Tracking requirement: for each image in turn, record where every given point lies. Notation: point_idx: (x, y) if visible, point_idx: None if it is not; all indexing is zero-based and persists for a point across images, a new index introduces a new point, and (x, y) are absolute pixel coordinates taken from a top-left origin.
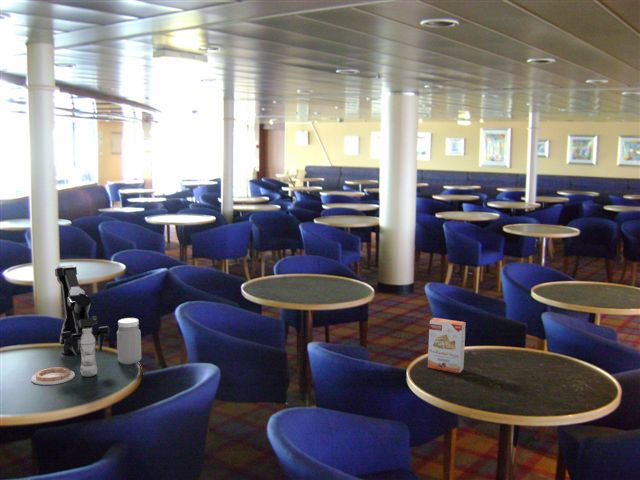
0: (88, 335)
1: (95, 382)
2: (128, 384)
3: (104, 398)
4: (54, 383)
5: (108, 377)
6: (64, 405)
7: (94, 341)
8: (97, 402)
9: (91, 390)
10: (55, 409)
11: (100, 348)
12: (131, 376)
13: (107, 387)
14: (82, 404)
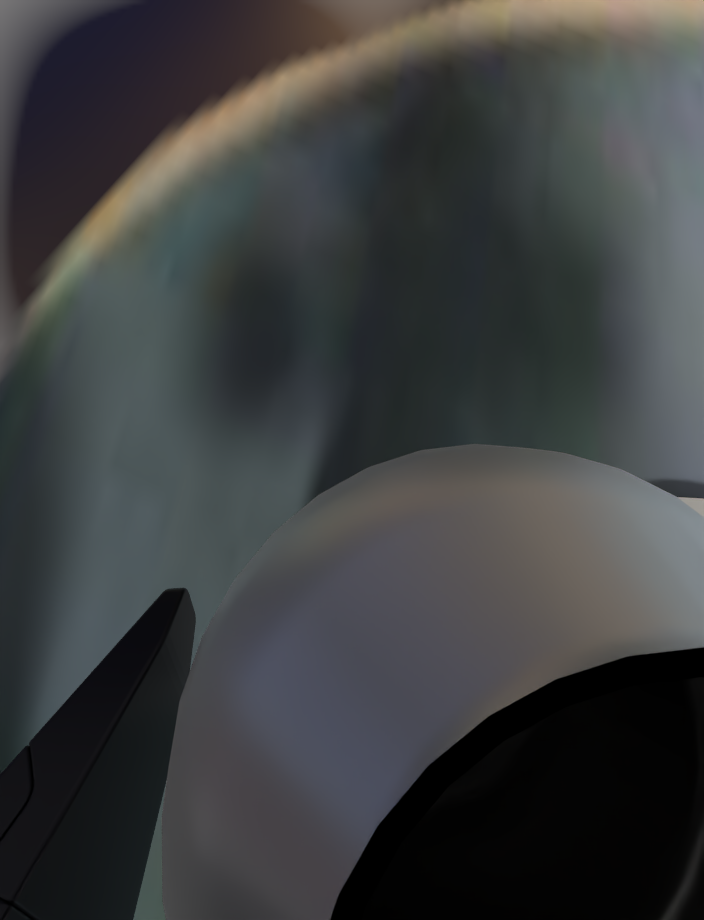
0: (584, 579)
1: (347, 399)
2: (112, 238)
3: (344, 65)
4: (685, 499)
5: (217, 474)
6: (604, 68)
7: (271, 537)
8: (399, 25)
9: (405, 241)
10: (658, 35)
11: (161, 623)
12: (23, 408)
13: (280, 248)
14: (494, 36)
